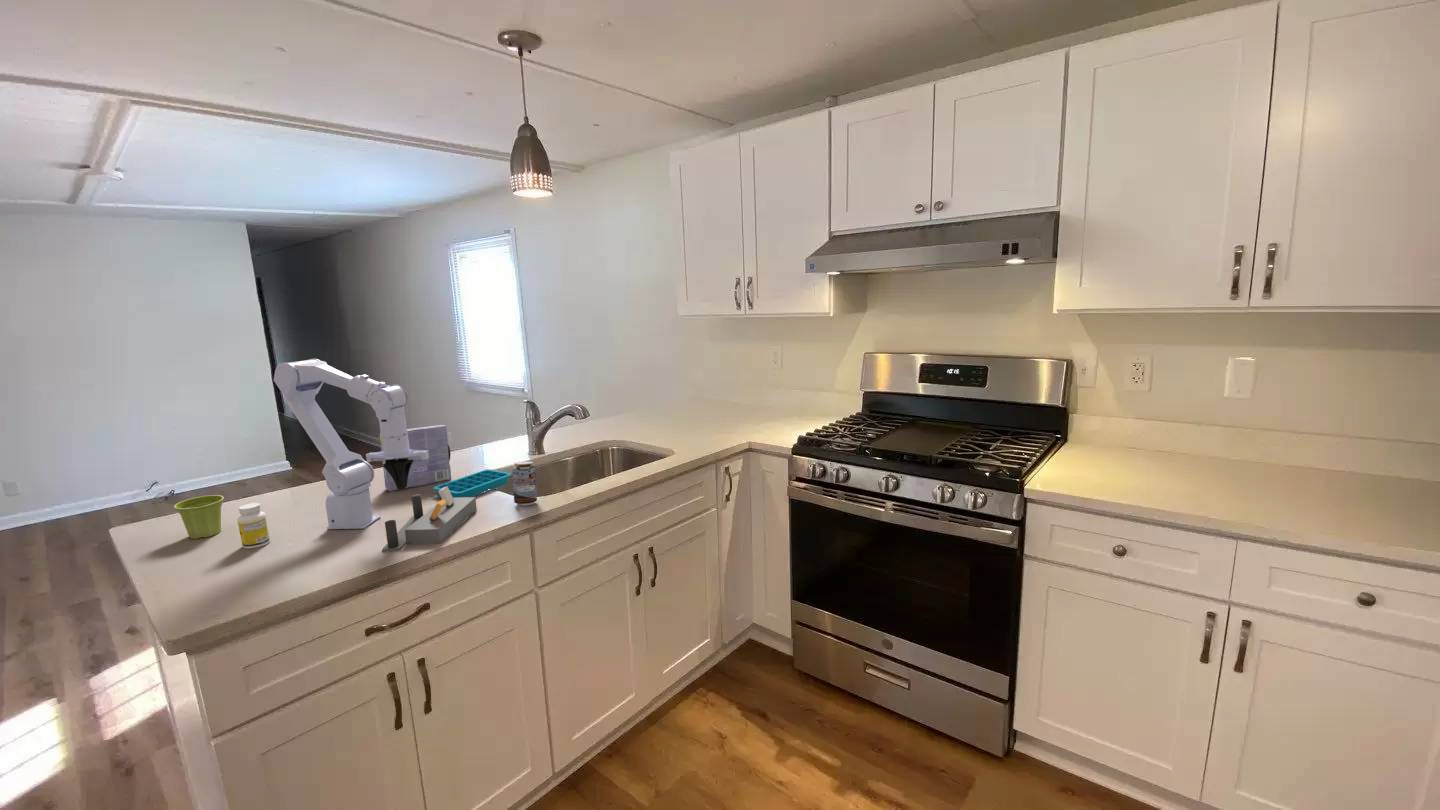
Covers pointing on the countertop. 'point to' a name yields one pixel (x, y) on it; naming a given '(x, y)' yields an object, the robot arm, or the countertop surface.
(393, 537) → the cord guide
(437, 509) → the block
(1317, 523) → the countertop surface
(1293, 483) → the countertop surface
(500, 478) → the ice cube tray
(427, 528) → the box
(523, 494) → the beverage can
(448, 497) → the paddle
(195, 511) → the plant pot
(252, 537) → the supplement bottle
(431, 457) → the cake pan box
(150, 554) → the countertop surface
